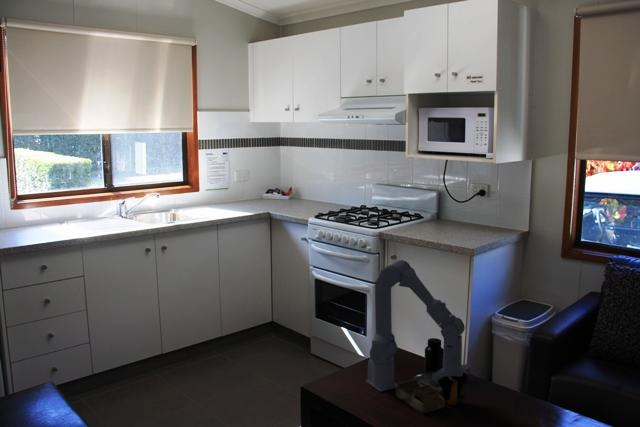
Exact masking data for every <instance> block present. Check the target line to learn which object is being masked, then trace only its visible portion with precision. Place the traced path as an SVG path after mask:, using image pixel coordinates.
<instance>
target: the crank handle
mask: <svg viewBox="0 0 640 427" xmlns="http://www.w3.org/2000/svg"><path fill="white" fill-rule="evenodd" d="M449 378H450V380H451V381H453V384H452V387H451V394H450V399H449V400H447V399H446V398H445V404H447V405H451V406H454V405H457V403H458V397H457V381H456V380H454V379H452V376H450V377H449Z"/></svg>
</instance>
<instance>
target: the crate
mask: <svg viewBox="0 0 640 427" xmlns="http://www.w3.org/2000/svg"><path fill="white" fill-rule="evenodd" d="M415 399H417V400H418V401H420V402H421V403H423V404H424V405H425V409H426V410H427V409H430V408H434V407H437V406H439V392H438V391H437V390H434V389H433V388H431V387H429V385H425V386H422V387H418V388H415Z"/></svg>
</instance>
